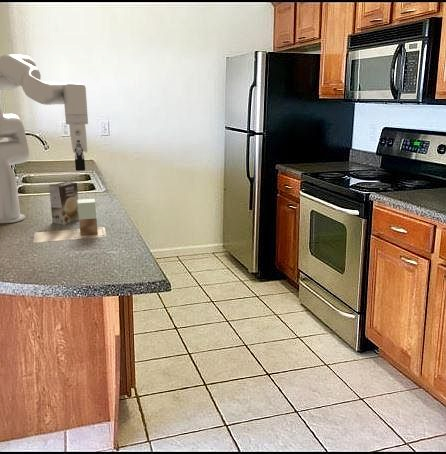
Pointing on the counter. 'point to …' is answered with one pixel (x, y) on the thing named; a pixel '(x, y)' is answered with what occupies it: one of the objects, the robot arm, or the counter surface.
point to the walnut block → (88, 227)
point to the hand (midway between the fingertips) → (80, 168)
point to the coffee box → (64, 202)
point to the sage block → (86, 209)
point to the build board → (65, 235)
